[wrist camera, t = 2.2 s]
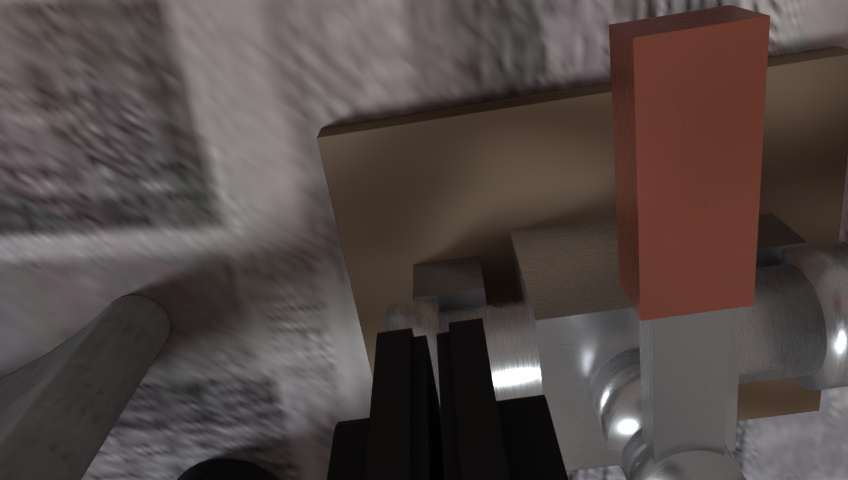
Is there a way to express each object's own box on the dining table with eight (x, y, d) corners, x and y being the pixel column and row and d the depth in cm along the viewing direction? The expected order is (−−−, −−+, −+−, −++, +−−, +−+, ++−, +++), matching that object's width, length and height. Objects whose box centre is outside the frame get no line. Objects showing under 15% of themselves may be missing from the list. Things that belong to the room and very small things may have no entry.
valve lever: (714, 473, 23) (747, 535, 20) (617, 485, 23) (639, 547, 20) (729, 1, 16) (779, 14, 14) (595, 23, 16) (623, 39, 14)
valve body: (786, 324, 32) (929, 482, 23) (413, 374, 33) (410, 543, 24) (797, 188, 29) (966, 307, 20) (387, 248, 30) (373, 386, 21)
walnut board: (803, 391, 36) (819, 410, 34) (393, 444, 37) (392, 463, 36) (838, 46, 28) (859, 52, 27) (321, 128, 30) (316, 138, 28)
